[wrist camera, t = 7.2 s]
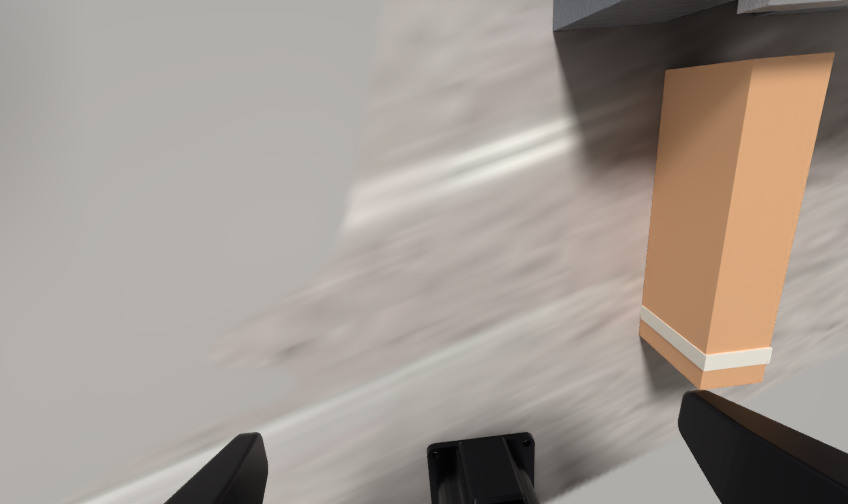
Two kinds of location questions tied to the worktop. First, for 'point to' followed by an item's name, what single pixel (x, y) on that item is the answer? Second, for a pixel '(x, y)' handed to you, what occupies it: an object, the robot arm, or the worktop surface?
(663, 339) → the tan banded carton
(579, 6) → the gray block
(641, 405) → the worktop surface
